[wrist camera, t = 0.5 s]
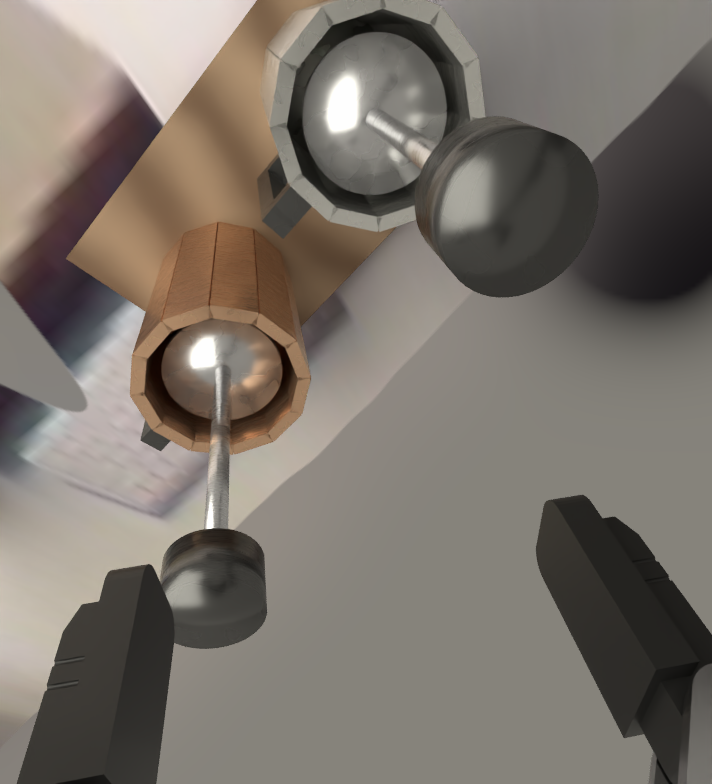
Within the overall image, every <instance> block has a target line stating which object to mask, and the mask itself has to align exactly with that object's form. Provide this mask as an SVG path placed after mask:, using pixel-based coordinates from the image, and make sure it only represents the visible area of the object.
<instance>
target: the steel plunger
mask: <svg viewBox="0 0 712 784" xmlns="http://www.w3.org/2000/svg"><path fill="white" fill-rule="evenodd" d="M446 117H447V104H446V95H445V91H444V86H443V83H442V80H441V77H440V75H439V73H438V71H437V69H436V67H435V65H434V64H433V62H432V61H431V59H430V58H429V57H428V56H427V55H426V54H425V52H424V51H423V50H422V49H420V48H419V47H418V46H417V45H416V44H414V43H412V42H411V41H409V40H407V39H406V38H403V37H401V36H398V35H395V34H391V33H384V32H366V33H361V34H357V35H354V36H351V37H349V38H347V39H344V40H343V41H341V42H340V43H338V44H336V45H335V46H334V47H333V48H331V49H330V50H329V51H328V52H327V53H326V54H325V55H324V56H323V57H322V58H321V60H320V61H319V62H318V64H317V65H316V67H315V68H314V70H313V72H312V74H311V76H310V78H309V80H308V83H307V85H306V88H305V92H304V96H303V102H302V128H303V133H304V138H305V141H306V144H307V147H308V149H309V151H310V153H311V155H312V157H313V159H314V161H315V162H316V164H317V165H318V167H319V168H320V170H321V171H322V172H323V173H324V174H325V175H326V176H327V177H328V178H329V179H330V180H332V181H333V182H334V183H336V184H337V185H339V186H340V187H342V188H344V189H346V190H349V191H352V192H355V193H359V194H365V195H378V194H385V193H389V192H392V191H395V190H397V189H400V188H402V187H404V186H405V185H407V184H409V183H410V182H412V181H413V180H414V179H416V178H417V177H418V176H419V178H418V182H417V186H416V191H415V215H416V220H417V224H418V227H419V229H420V232H421V234H422V236H423V237H424V239H425V241H426V242H427V243H428V244H429V246H430V247H431V248H432V249H433V250H434V252H435V253H436V254H437V255H438V256H439V257H440V259H441V260H442V261H443V262H444V263H445V264H446V266H447V267H448V268H449V269H450V270H451V271H452V273H453V274H454V275H455V276H456V277H457V279H458V280H459V281H460V282H462V283H463V284H464V285H465V286H467V287H468V288H470V289H471V290H473V291H475V292H478V293H480V294H483V295H487V296H491V297H513V296H519V295H523V294H526V293H529V292H531V291H534V290H537V289H539V288H541V287H542V286H544V285H546V284H548V283H549V282H551V281H552V280H554V279H555V278H556V277H557V276H559V275H560V274H561V273H562V272H563V271H564V270H565V269H566V268H567V267H568V266H569V265H570V264H571V263H572V262H573V261H574V259H575V258H576V257H577V256H578V254H579V253H580V251H581V250H582V248H583V247H584V245H585V243H586V241H587V240H588V238H589V235H590V233H591V230H592V228H593V225H594V222H595V218H596V214H597V208H598V184H597V179H596V175H595V172H594V170H593V167H592V165H591V163H590V161H589V159H588V157H587V156H586V155H585V154H584V152H583V151H582V150H581V149H580V148H579V147H578V146H577V145H576V144H574V143H573V142H571V141H570V140H568V139H566V138H565V137H562V136H559V135H557V134H554V133H551V132H549V131H546V130H543V129H540V128H537V127H534V126H531V125H529V124H526V123H523V122H520V121H517V120H514V119H511V118H506V117H497V116H492V117H483V118H479V119H475V120H472V121H470V122H468V123H465V124H463V125H461V126H460V127H458V128H456V129H455V130H453V131H452V132H451V133H449V134H448V135H447V136H446V137H445V138H444V139H442V138H443V134H444V130H445V125H446Z"/></svg>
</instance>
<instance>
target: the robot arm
mask: <svg viewBox="0 0 712 784" xmlns="http://www.w3.org/2000/svg"><path fill="white" fill-rule="evenodd" d="M536 556H537V562H538V566H539V569H540V572H541V575H542V577H543V579H544V581H545V583H546V585H547V587H548V589H549V591H550V593H551V595H552V597H553V599H554V601H555V603H556V605H557V607H558V609H559V611H560V613H561V615H562V617H563V619H564V621H565V623H566V625H567V627H568V629H569V631H570V633H571V635H572V636H573V639H574V640H575V642H576V644H577V646H578V648H579V650H580V652H581V654H582V656H583V658H584V660H585V662H586V664H587V666H588V668H589V670H590V672H591V674H592V676H593V678H594V680H595V682H596V684H597V686H598V688H599V690H600V692H601V694H602V696H603V698H604V700H605V702H606V704H607V706H608V708H609V710H610V711H611V713H612V716H613V718H614V719H615V721H616V723H617V725H618V727H619V729H620V731H621V733H622V735H623V737H624V738H627V737H632V736H637V735H642V734H645V736H646V738H647V740H648V742H649V744H650V745H651V747H652V749H653V753H652V757H651V765H650V774H649V783H648V784H712V635H711V633H710V632H709V630H708V629H707V628H706V626H705V625H704V624H703V622H702V621H701V619H700V618H699V617H698V615H697V614H696V613H695V611H694V610H693V608H692V607H691V606H690V604H689V603H688V602H687V600H686V599H685V597H684V596H683V595H682V593H681V592H680V591H679V589H678V588H677V587H676V585H675V584H674V583H673V581H670V580H669V578H668V574H667V573H666V571H665V570H664V569H663V567H662V566H661V565H660V563H659V562H656V560H655V556H654V555H653V554H652V552H651V551H650V550H649V548H648V547H647V545H646V544H645V543H644V541H643V540H642V539H641V537H640V536H639V534H637V533H636V532H635V531H633V530H632V529H630V528H629V527H628V526H627V525H625V524H624V523H623V522H621V521H620V520H619V519H617V518H616V517H609V518H603V519H602V517H601V516H600V514H599V513H598V511H597V510H596V508H595V507H594V505H593V504H592V503H591V501H590V500H589V499H588V498H587V497H586V496H584V495H578V496H571V497H565V498H559V499H553V500H548V501H546V502H545V504H544V508H543V513H542V519H541V524H540V529H539V535H538V540H537V546H536ZM174 636H175V628H174V617H173V612H172V609H171V606H170V604H169V602H168V599H167V597H166V595H165V593H164V590H163V588H162V586H161V583H160V581H159V579H158V577H157V574H156V572H155V570H154V568H153V566H152V565H150V564H148V565H141V566H135V567H129V568H123V569H117V570H112V571H110V572H108V574H107V576H106V578H105V581H104V585H103V589H102V593H101V596H100V600H99V602H94V603H88V604H82V605H81V607H80V608H79V610H78V611H77V613H76V614H75V615H74V617H73V618H72V620H71V621H70V623H69V624H68V625H67V627H66V628H65V630H64V631H63V634H62V637H61V640H60V644H59V647H58V650H57V653H56V657H55V660H54V661H55V665H54V667H52V670H51V673H50V676H49V680H48V683H47V691H45V693H44V696H43V699H42V703H41V706H40V709H39V712H38V716H37V719H36V722H35V725H34V729H33V732H32V735H31V738H30V742H29V745H28V748H27V752H26V755H25V758H24V761H23V765H22V768H21V771H20V774H19V778H18V781H17V784H156V781H157V773H158V764H159V758H160V749H161V741H162V734H163V726H164V718H165V710H166V701H167V694H168V686H169V678H170V670H171V662H172V653H173V645H174Z"/></svg>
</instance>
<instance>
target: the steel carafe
mask: <svg viewBox="0 0 712 784" xmlns="http://www.w3.org/2000/svg"><path fill="white" fill-rule="evenodd" d="M366 32H384V33H391V34H395V35H398V36H401V37H403V38H406V39H407V40H409V41H411V42H412V43H414V44H416V45H417V46H418V47H419V48H420V49H422V50H423V51H424V52H425V54H426V55H427V56H428V57H429V58H430V59H431V61H432V62H433V64H434V65H435V67H436V69H437V71H438V73H439V75H440V77H441V80H442V83H443V86H444V91H445V95H446V104H447V117H446V125H445V130H444V134H443V138H442V139H444V138H445V137H446V136H447V135H448V134H449V133H451V132H452V131H453V130H455V129H456V128H458V127H460V126H461V125H463V124H465V123H468V122H470V121H472V120H475V119H479V118H483V117H486V116H485V108H484V99H483V91H482V82H481V74H480V65H479V58H476V57H477V56H478V55H477V54H476V53H475V51H474V50H473V48H472V47H471V46H470V44H469V43H468V42H467V40H466V39H465V37H464V36H463V35H462V33H461V32H460V31H459V29H458V28H457V26H456V25H455V24H454V22H453V21H452V19H451V18H450V17H449V15H448V14H447V13H446V11H445V10H444V8H443V7H440V5H438V4H435V3H432V2H429V1H426V0H327V1H324V2H321V3H318V4H315V5H312V6H309V7H306V8H303V9H300V10H297V11H294V12H293V13H292V14H291V15H290V17H289V18H288V19H287V21H286V22H285V23H284V24H283V26H282V27H281V28H280V30H279V31H278V32H277V34H276V35H275V36H274V38H273V39H272V40H271V41H270V43H269V44H268V45H267V47H268V48H266V51H265V58H264V65H263V71H262V78H261V85H260V96H261V99H262V103H263V106H264V110H265V113H266V116H267V120H268V123H269V127H270V130H271V133H272V136H273V139H274V142H275V145H276V148H277V151H278V154H277V155H276V156H275V158H274V159H273V160H272V161H271V162H270V164H269V165H268V166H267V167H266V168H265V170H264V171H263V172H262V173H261V174H260V176H259V177H258V178H257V184H258V193H259V202H260V211H261V219H262V221H263V222H264V223H265V224H266V225H267V226H269V227H270V228H271V229H272V230H273V231H274V232H276V233H277V234H278V235H279V236H280V237H281V238H283V239H284V238H285V236H286V235H287V234H288V233H289V232H290V231H291V230H292V229H293V227H294V226H295V225H296V224H297V223H298V222H299V221H300V219H301V218H302V217H303V216H304V215H305V214H306V213H307V212H308V210H309V209H310V208H311V207H313V208H315V209H316V210H317V211H318V212H319V213H320V214H321V215H322V216H323V217H324V218H325V219H326V220H328V221H330V222H332V223H337V224H342V225H346V226H351V227H356V228H361V229H365V230H370V231H375V232H378V230H379V232H381V231H384V230H387V229H390V228H393V227H396V226H399V225H402V224H405V223H408V222H411V221H415V220H416V215H415V191H416V186H417V182H418V178H419V176H418V177H417V178H416V179H414V180H413V181H412V182H410V183H409V184H407V185H405V186H404V187H402V188H400V189H397V190H395V191H392V192H389V193H385V194H378V195H365V194H359V193H355V192H352V191H349V190H346V189H344V188H342V187H340V186H339V185H337V184H336V183H334V182H333V181H332V180H330V179H329V178H328V177H327V176H326V175H325V174H324V173H323V172H322V171H321V170H320V168H319V167H318V165H317V164H316V162H315V161H314V159H313V157H312V155H311V153H310V151H309V149H308V147H307V144H306V141H305V138H304V133H303V128H302V102H303V96H304V92H305V88H306V85H307V83H308V80H309V78H310V76H311V74H312V72H313V70H314V68H315V67H316V65H317V64H318V62H319V61H320V60H321V58H322V57H323V56H324V55H325V54H326V53H327V52H328V51H329V50H330V49H331V48H333V47H334V46H335V45H336V44H338V43H340V42H341V41H343V40H344V39H347V38H349V37H351V36H354V35H357V34H361V33H366ZM287 183H288V184H287Z"/></svg>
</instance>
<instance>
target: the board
mask: <svg viewBox="0 0 712 784" xmlns="http://www.w3.org/2000/svg"><path fill="white" fill-rule="evenodd" d="M324 1H327V0H257V1H256V3H255V4H254V5H253V7H252V8H251V9H250V11H249V12H248V13H247V15H246V16H245V18H244V19H243V20H242V22H241V23H240V24H239V26H238V27H237V28H236V30H235V31H234V32H233V34H232V35H231V36H230V38H229V39H228V40H227V42H226V43H225V45H224V46H223V47H222V49H221V50H220V51H219V53H218V54H217V55H216V57H215V58H214V59H213V61H212V62H211V63H210V65H209V66H208V67H207V69H206V70H205V72H204V73H203V74H202V76H201V77H200V78H199V80H198V81H197V82H196V84H195V85H194V86H193V88H192V89H191V90H190V92H189V93H188V94H187V96H186V97H185V99H184V100H183V101H182V103H181V104H180V105H179V107H178V108H177V109H176V111H175V112H174V113H173V115H172V116H171V117H170V119H169V120H168V121H167V123H166V124H165V126H164V127H163V128H162V130H161V131H160V132H159V134H158V135H157V136H156V138H155V139H154V140H153V142H152V143H151V144H150V146H149V147H148V148H147V150H146V151H145V153H144V154H143V155H142V157H141V158H140V159H139V161H138V162H137V163H136V165H135V166H134V167H133V169H132V170H131V171H130V173H129V174H128V175H127V177H126V178H125V180H124V181H123V182H122V184H121V185H120V186H119V188H118V189H117V190H116V192H115V193H114V194H113V196H112V197H111V198H110V200H109V201H108V202H107V204H106V205H105V207H104V208H103V209H102V211H101V212H100V213H99V215H98V216H97V217H96V219H95V220H94V221H93V223H92V224H91V225H90V227H89V228H88V229H87V231H86V232H85V234H84V235H83V236H82V238H81V239H80V240H79V242H78V243H77V244H76V246H75V247H74V248H73V250H72V251H71V252H70V254H69V255H68V257H67V258H66V259H67V260H69V261H70V262H72V263H73V264H75V265H76V266H78V267H79V268H81V269H82V270H84V271H85V272H87V273H88V274H90V275H91V276H93V277H94V278H96V279H97V280H99V281H100V282H102V283H103V284H105V285H106V286H108V287H109V288H111V289H112V290H114V291H115V292H117V293H118V294H120V295H121V296H123V297H125V298H126V299H128V300H129V301H131V302H132V303H134V304H135V305H137V306H138V307H140V308H141V309H143V310H144V311H147V308H148V305H149V301H150V298H151V295H152V292H153V289H154V286H155V283H156V280H157V277H158V273H159V270H160V267H161V264H162V261H163V258H164V257H165V256H166V254H167V253H168V252H169V251H170V249H171V248H172V247H173V246H174V244H175V243H176V242H177V241H178V240H179V238H180V237H181V236H182V235H183V233H185V232H187V231H190V230H193V229H196V228H199V227H202V226H205V225H208V224H211V223H214V222H224V223H229V224H234V225H239V226H244V227H249V228H253V230H254V229H255V230H256V231H257V232H258V233H260V234H261V235H262V236H263V237H264V238H266V239H267V240H268V241H269V242H270V243H272V244H273V245H274V246H275V247H276V248H277V249H279V250H280V252H281V254H282V257H283V259H284V262H285V265H286V268H287V270H288V273H289V276H290V278H291V282H292V287H293V292H294V297H295V301H296V306H297V311H298V316H299V321H300V326H302V325H303V324H304V323H305V322H306V321H307V320H308V319H309V318H310V317H311V316H312V314H313V313H314V312H315V311H316V310H317V309H318V308H319V307H320V306H321V305H322V304H323V303H324V302H325V301H326V300H327V299H328V298H329V297H330V296H331V295H332V294H333V293H334V292H335V290H336V289H337V288H338V287H339V286H340V285H341V284H342V283H343V282H344V281H345V280H346V279H347V278H348V277H349V276H350V275H351V274H352V273H353V272H354V271H355V270H356V269H357V268H358V266H359V265H360V264H361V263H362V262H363V261H364V260H365V259H366V258H367V257H368V256H369V255H370V254H371V253H372V252H373V251H374V250H375V249H376V248H377V247H378V246H379V245H380V244H381V242H382V241H383V240H384V239H385V238H386V237H387V236H388V235H389V234H390V233H391V232H392V231H393V230H394V229H395V228H396V227H397V226H396V227H393V228H390V229H387V230H384V231H381V232H379V230H378V232H375V231H370V230H365V229H361V228H356V227H351V226H346V225H342V224H337V223H332V222H330V221H328V220H326V219H325V218H324V217H323V216H322V215H321V214H320V213H319V212H318V211H317V210H316V209H315V208H313V207H311V208H310V209H309V210H308V212H307V213H306V214H305V215H304V216H303V217H302V218H301V219H300V221H299V222H298V223H297V224H296V225H295V226H294V227H293V229H292V230H291V231H290V232H289V233H288V234H287V235H286V236H285V238H284V239H283V238H281V237H280V236H279V235H278V234H277V233H276V232H274V231H273V230H272V229H271V228H270V227H269V226H267V225H266V224H265V223H264V222H263V221H262V219H261V211H260V202H259V193H258V184H257V178H258V177H259V176H260V174H261V173H262V172H263V171H264V170H265V168H266V167H267V166H268V165H269V164H270V162H271V161H272V160H273V159H274V158H275V156H276V155H277V154H278V151H277V148H276V145H275V142H274V139H273V136H272V133H271V130H270V127H269V123H268V120H267V116H266V113H265V110H264V106H263V103H262V99H261V96H260V85H261V78H262V71H263V65H264V58H265V51H266V48H268V47H267V45H268V44H269V43H270V41H271V40H272V39H273V38H274V36H275V35H276V34H277V32H278V31H279V30H280V28H281V27H282V26H283V24H284V23H285V22H286V21H287V19H288V18H289V17H290V15H291V14H292V13H293V12H294V11H297V10H300V9H303V8H306V7H309V6H312V5H315V4H318V3H321V2H324ZM287 184H288V183H287Z"/></svg>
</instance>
